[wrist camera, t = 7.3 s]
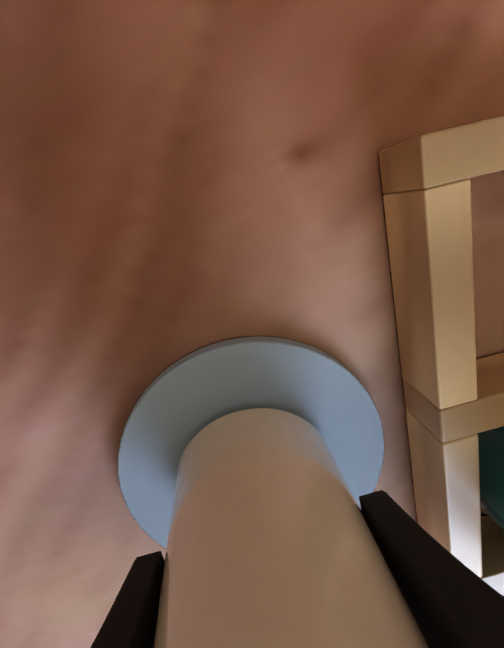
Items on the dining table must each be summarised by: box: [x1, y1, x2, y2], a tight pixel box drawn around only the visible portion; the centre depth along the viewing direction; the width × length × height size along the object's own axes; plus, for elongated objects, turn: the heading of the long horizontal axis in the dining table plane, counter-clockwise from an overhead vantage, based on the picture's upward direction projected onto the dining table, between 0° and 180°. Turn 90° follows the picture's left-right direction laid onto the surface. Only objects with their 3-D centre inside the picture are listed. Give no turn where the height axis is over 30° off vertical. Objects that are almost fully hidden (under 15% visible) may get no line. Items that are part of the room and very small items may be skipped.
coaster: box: [118, 336, 384, 548], centre depth 12 cm, size 9×9×1 cm
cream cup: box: [153, 408, 431, 648], centre depth 8 cm, size 5×5×7 cm
